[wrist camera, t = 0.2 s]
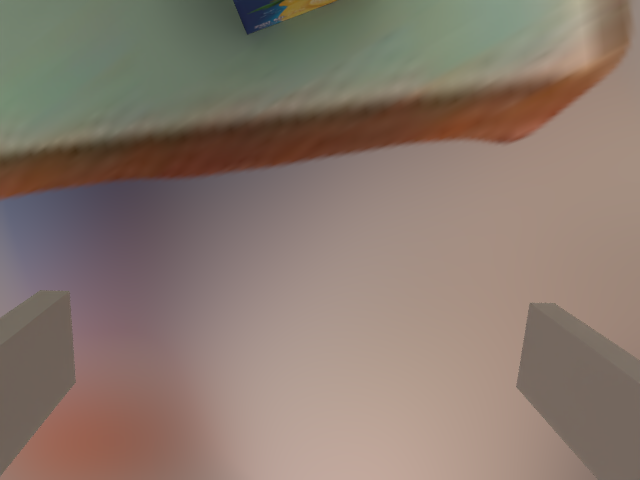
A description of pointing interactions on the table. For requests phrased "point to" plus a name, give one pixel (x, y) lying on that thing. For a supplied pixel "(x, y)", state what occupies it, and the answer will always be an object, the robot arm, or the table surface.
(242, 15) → the beverage box
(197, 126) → the table surface
